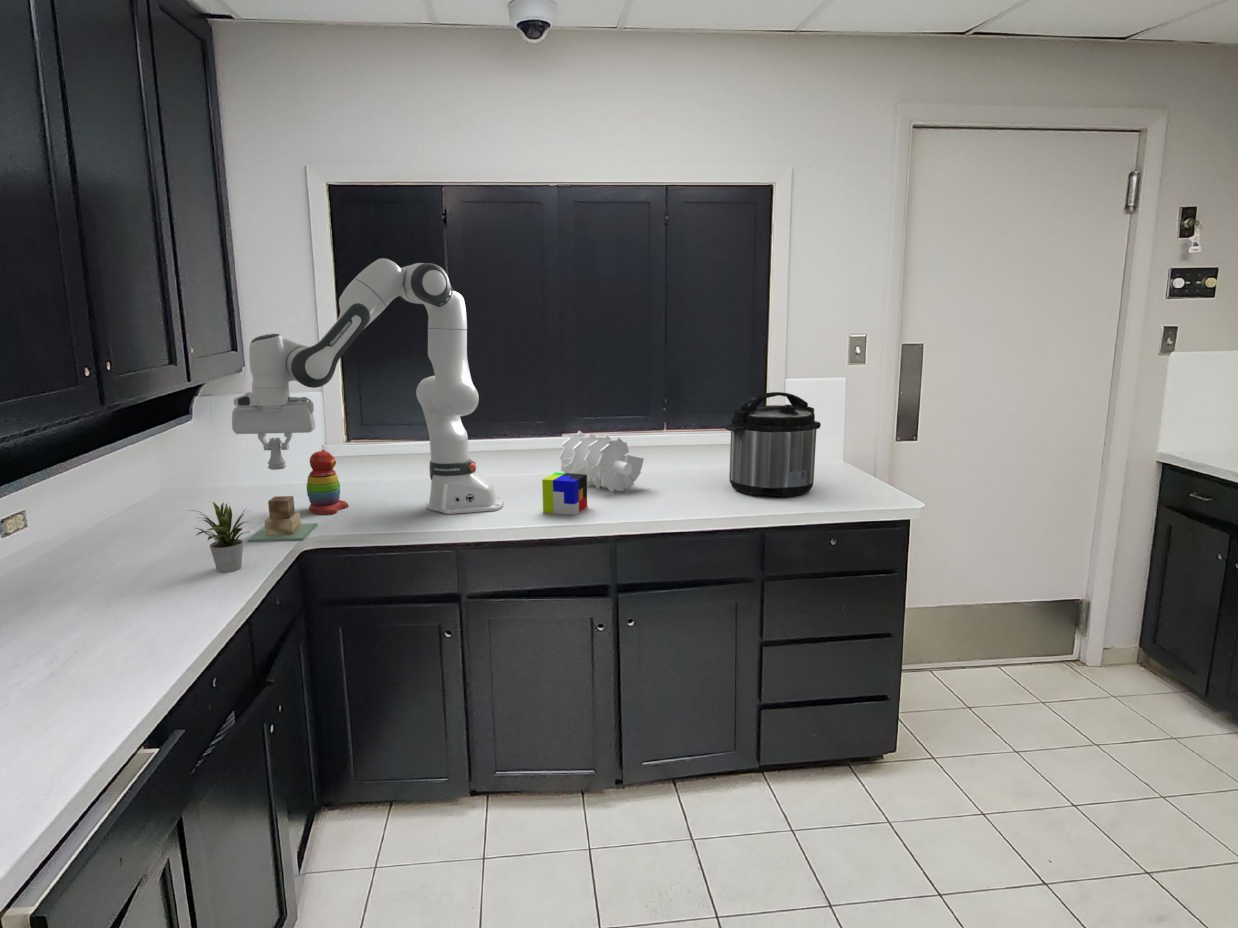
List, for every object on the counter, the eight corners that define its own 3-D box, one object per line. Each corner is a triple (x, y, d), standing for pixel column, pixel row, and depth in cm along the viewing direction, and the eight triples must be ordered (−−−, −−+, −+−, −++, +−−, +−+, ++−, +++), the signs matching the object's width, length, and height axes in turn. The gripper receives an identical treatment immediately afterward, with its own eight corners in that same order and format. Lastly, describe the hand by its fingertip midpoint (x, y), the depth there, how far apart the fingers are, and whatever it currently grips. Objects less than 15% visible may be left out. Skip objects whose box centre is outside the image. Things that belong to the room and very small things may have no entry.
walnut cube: (294, 513, 222) (293, 496, 221) (289, 518, 217) (287, 500, 216) (275, 514, 221) (274, 496, 220) (269, 519, 216) (268, 501, 215)
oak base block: (300, 527, 223) (299, 512, 223) (293, 534, 217) (291, 519, 216) (274, 527, 223) (273, 513, 222) (265, 535, 216) (264, 520, 215)
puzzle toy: (574, 515, 237) (574, 481, 235) (543, 512, 240) (542, 479, 238) (587, 506, 246) (586, 474, 244) (556, 504, 249) (555, 472, 247)
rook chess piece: (270, 470, 213) (268, 440, 211) (265, 467, 216) (263, 437, 215) (288, 468, 216) (286, 438, 214) (283, 465, 219) (281, 436, 217)
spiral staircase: (616, 507, 260) (563, 491, 277) (651, 476, 269) (598, 462, 286) (600, 461, 250) (546, 447, 267) (636, 430, 260) (582, 418, 277)
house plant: (181, 568, 192) (173, 501, 189) (241, 554, 202) (234, 490, 199) (206, 582, 182) (198, 512, 179) (267, 567, 192) (260, 500, 189)
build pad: (317, 525, 227) (317, 523, 227) (303, 540, 214) (302, 537, 214) (265, 526, 226) (265, 524, 226) (247, 541, 212) (247, 539, 212)
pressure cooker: (816, 481, 278) (820, 388, 271) (820, 501, 250) (825, 398, 244) (727, 477, 283) (729, 386, 277) (722, 497, 256) (724, 396, 249)
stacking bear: (332, 515, 238) (327, 455, 234) (300, 513, 240) (295, 454, 236) (351, 505, 248) (346, 448, 244) (320, 504, 250) (316, 447, 246)
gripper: (316, 395, 216) (320, 446, 219) (235, 396, 215) (241, 448, 217) (309, 398, 210) (313, 451, 213) (226, 399, 208) (232, 453, 211)
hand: (276, 449), depth 215 cm, fingers closed on rook chess piece, 3 cm apart
